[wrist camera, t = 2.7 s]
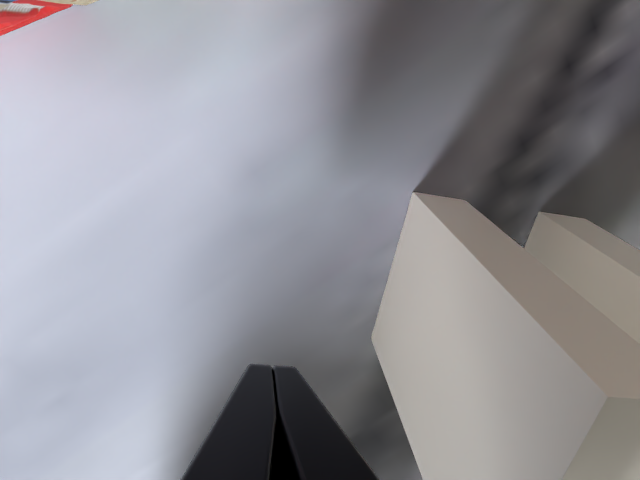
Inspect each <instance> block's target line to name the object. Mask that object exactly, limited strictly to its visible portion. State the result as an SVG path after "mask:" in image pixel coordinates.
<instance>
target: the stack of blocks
mask: <svg viewBox="0 0 640 480" xmlns="http://www.w3.org/2000/svg"><path fill="white" fill-rule="evenodd" d="M96 1H98V0H0V36H1V35H4V34H6V33H8V32H11V31H13V30H16V29H18V28H20V27H23V26H25V25H28V24H30V23H32V22H34V21H37V20H39V19H42V18H45V17H47V16H49V15H51V14H53V13H56V12H58V11H61V10H64V9H67V8H69V7H71V6H72V5H73V4H75V5H88V4H91V3H93V2H96Z"/></svg>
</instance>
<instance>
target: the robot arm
mask: <svg viewBox="0 0 640 480" xmlns="http://www.w3.org/2000/svg"><path fill="white" fill-rule="evenodd" d="M181 480H379V478H378V477H377V476H376V474H375V473H374V472H373V470H372V469H371V468H370V466H369V465H368V463H367V462H366V461H365V459H364V458H363V457H362V455H361V454H360V453H359V451H358V450H357V449H356V447H355V446H354V445H353V443H352V442H351V441H350V439H349V438H348V437H347V435H346V434H345V433H344V431H343V430H342V429H341V427H340V426H339V425H338V423H337V422H336V421H335V419H334V418H333V417H332V415H331V414H330V413H329V411H328V410H327V409H326V407H325V406H324V405H323V403H322V402H321V401H320V399H319V398H318V397H317V395H316V394H315V393H314V391H313V390H312V389H311V387H310V386H309V385H308V383H307V382H306V381H305V379H304V378H303V377H302V375H301V374H300V373H299V371H298V370H297V369H296V368H295V367H292V366H278V365H276V366H274V367H273V368H272V367H271V366H270V365H263V364H250V365H249V366H248V367H247V368H246V370H245V372H244V373H243V375H242V377H241V379H240V380H239V382H238V384H237V385H236V387H235V389H234V390H233V392H232V394H231V395H230V397H229V399H228V401H227V402H226V404H225V406H224V407H223V409H222V411H221V412H220V414H219V416H218V417H217V419H216V421H215V423H214V424H213V426H212V428H211V429H210V431H209V433H208V434H207V436H206V438H205V439H204V441H203V443H202V445H201V446H200V448H199V450H198V451H197V453H196V455H195V456H194V458H193V460H192V461H191V463H190V465H189V467H188V468H187V470H186V472H185V473H184V475H183V477H182V478H181Z"/></svg>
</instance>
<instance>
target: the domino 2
mask: <svg viewBox="0 0 640 480" xmlns="http://www.w3.org/2000/svg"><path fill="white" fill-rule="evenodd" d="M524 249H525V250H526V251H527V252H529V253H530V254H531V255H532V256H533V257H535V258H536V259H537V260H538V261H540V262H541V263H542V264H543V265H544V266H546V267H547V268H548V269H549V270H550V271H552V272H553V273H554V274H555V275H556V276H558V277H559V278H560V279H561V280H563V281H564V282H565V283H566V284H567V285H569V286H570V287H571V288H572V289H573V290H575V291H576V292H577V293H578V294H579V295H581V296H582V297H583V298H584V299H586V300H587V301H588V302H589V303H590V304H592V305H593V306H594V307H595V308H596V309H598V310H599V311H600V312H601V313H602V314H604V315H605V316H606V317H607V318H609V319H610V320H611V321H612V322H613V323H615V324H616V325H617V326H618V327H619V328H621V329H622V330H623V331H624V332H626V333H627V334H628V335H629V336H630V337H632V338H633V339H634V340H635V341H636V342H638V343H639V344H640V250H638V249H637V248H635V247H633V246H632V245H630V244H628V243H626V242H625V241H623V240H621V239H620V238H618V237H616V236H614V235H613V234H611V233H609V232H607V231H606V230H604V229H602V228H601V227H599V226H597V225H595V224H594V223H592V222H590V221H589V220H587V219H584V218H578V217H572V216H565V215H559V214H552V213H546V212H538V214H537V217H536V219H535V222H534V224H533V227H532V229H531V232H530V234H529V237H528V239H527V242H526V244H525V247H524Z"/></svg>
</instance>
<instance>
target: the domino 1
mask: <svg viewBox="0 0 640 480" xmlns="http://www.w3.org/2000/svg"><path fill="white" fill-rule="evenodd" d="M371 340H372V343H373V345H374V348H375V351H376V354H377V356H378V359H379V362H380V364H381V367H382V370H383V373H384V375H385V378H386V381H387V383H388V386H389V389H390V392H391V394H392V397H393V400H394V402H395V405H396V408H397V411H398V413H399V416H400V419H401V422H402V424H403V427H404V430H405V432H406V435H407V438H408V441H409V443H410V446H411V449H412V451H413V454H414V457H415V460H416V462H417V465H418V468H419V470H420V473H421V476H422V479H423V480H640V344H639V343H638V342H636V341H635V340H634V339H633V338H632V337H630V336H629V335H628V334H627V333H626V332H624V331H623V330H622V329H621V328H619V327H618V326H617V325H616V324H615V323H613V322H612V321H611V320H610V319H609V318H607V317H606V316H605V315H604V314H602V313H601V312H600V311H599V310H598V309H596V308H595V307H594V306H593V305H592V304H590V303H589V302H588V301H587V300H586V299H584V298H583V297H582V296H581V295H579V294H578V293H577V292H576V291H575V290H573V289H572V288H571V287H570V286H569V285H567V284H566V283H565V282H564V281H563V280H561V279H560V278H559V277H558V276H556V275H555V274H554V273H553V272H552V271H550V270H549V269H548V268H547V267H546V266H544V265H543V264H542V263H541V262H540V261H538V260H537V259H536V258H535V257H533V256H532V255H531V254H530V253H529V252H527V251H526V250H525V249H524V248H523V247H521V246H520V245H519V244H518V243H516V242H515V241H514V240H513V239H512V238H510V237H509V236H508V235H507V234H506V233H504V232H503V231H502V230H501V229H500V228H498V227H497V226H496V225H495V224H493V223H492V222H491V221H490V220H489V219H487V218H486V217H485V216H484V215H483V214H481V213H480V212H479V211H478V210H477V209H475V208H474V207H473V206H472V205H470V204H469V203H468V202H467V201H466V200H462V199H456V198H450V197H443V196H437V195H430V194H424V193H417V192H412V196H411V199H410V203H409V206H408V210H407V213H406V217H405V220H404V224H403V227H402V231H401V234H400V238H399V241H398V245H397V248H396V252H395V255H394V259H393V262H392V266H391V269H390V273H389V276H388V280H387V283H386V287H385V290H384V294H383V297H382V301H381V304H380V308H379V311H378V315H377V318H376V322H375V325H374V329H373V332H372V336H371Z"/></svg>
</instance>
